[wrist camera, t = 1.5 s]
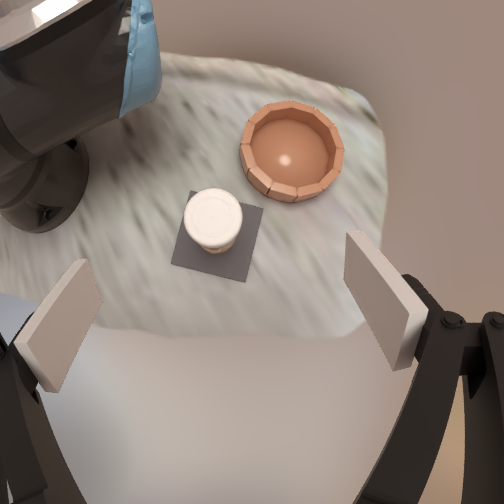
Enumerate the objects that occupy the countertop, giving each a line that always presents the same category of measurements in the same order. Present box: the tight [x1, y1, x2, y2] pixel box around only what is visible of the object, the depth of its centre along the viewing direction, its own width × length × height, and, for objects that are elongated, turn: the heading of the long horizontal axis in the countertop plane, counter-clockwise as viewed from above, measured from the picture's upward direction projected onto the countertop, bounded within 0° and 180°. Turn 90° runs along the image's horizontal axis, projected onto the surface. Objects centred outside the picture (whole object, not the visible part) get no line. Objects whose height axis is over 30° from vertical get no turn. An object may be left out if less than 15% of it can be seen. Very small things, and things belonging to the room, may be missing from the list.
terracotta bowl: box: [239, 101, 344, 202], centre depth 37 cm, size 12×12×4 cm
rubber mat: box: [171, 191, 263, 282], centre depth 37 cm, size 9×9×1 cm
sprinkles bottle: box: [184, 188, 243, 254], centre depth 30 cm, size 5×5×13 cm
